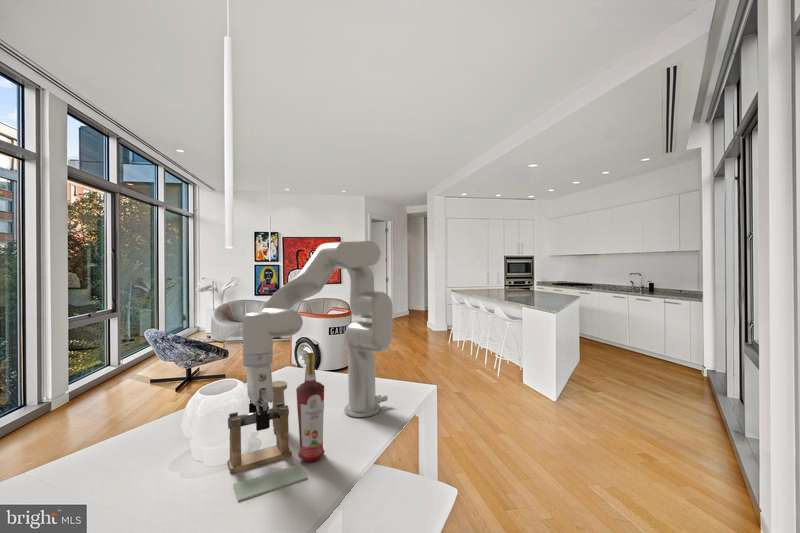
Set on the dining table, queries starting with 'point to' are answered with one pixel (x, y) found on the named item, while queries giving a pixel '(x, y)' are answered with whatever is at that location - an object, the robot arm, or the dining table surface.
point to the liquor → (310, 413)
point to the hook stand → (262, 455)
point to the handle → (278, 396)
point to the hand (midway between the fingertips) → (259, 422)
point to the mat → (269, 482)
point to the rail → (251, 417)
